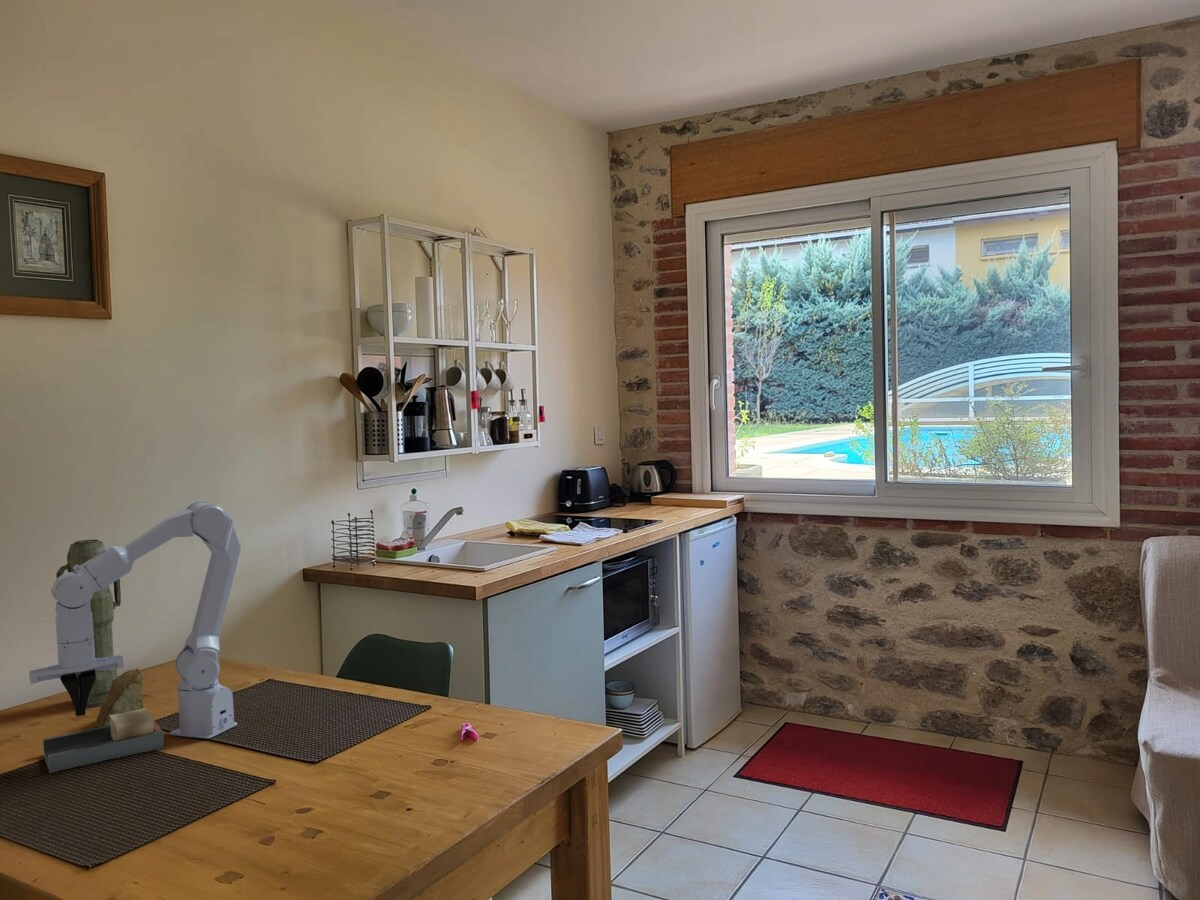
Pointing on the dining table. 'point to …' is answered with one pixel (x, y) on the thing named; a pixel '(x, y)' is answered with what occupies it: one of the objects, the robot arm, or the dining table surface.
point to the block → (131, 724)
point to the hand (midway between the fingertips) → (80, 714)
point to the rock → (122, 696)
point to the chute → (96, 747)
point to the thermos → (97, 617)
